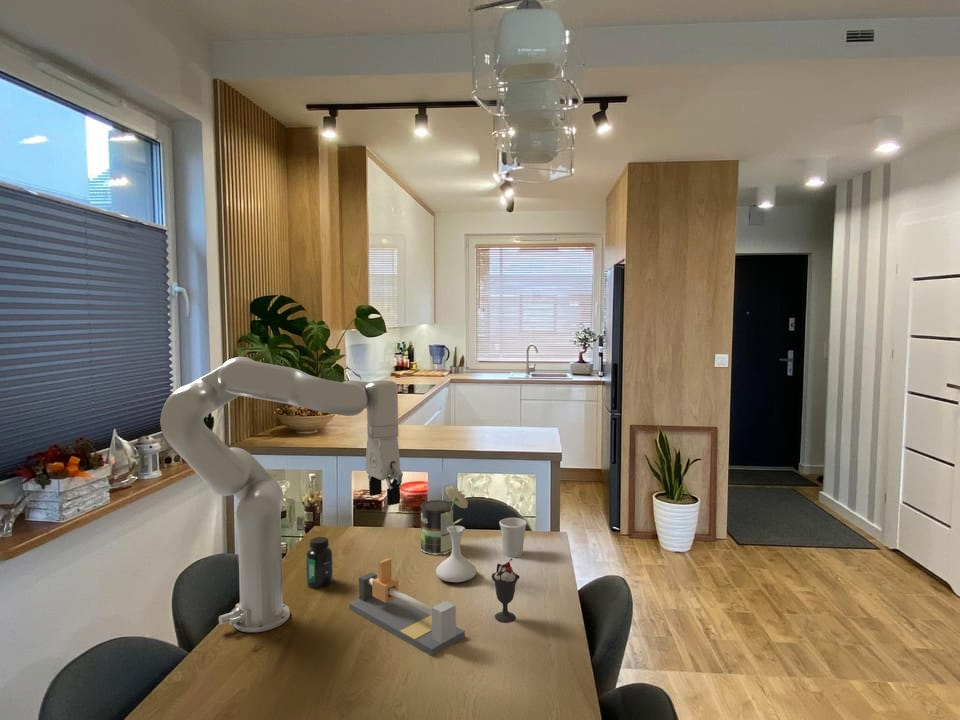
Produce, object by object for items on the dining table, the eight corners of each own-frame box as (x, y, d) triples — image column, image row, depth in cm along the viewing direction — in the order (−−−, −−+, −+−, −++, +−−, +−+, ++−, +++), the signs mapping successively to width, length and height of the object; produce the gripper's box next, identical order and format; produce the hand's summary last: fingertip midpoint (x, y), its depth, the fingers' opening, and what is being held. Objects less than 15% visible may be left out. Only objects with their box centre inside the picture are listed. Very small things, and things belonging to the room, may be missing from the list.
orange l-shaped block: (372, 596, 141) (372, 560, 140) (385, 590, 144) (385, 555, 143) (385, 602, 137) (384, 565, 137) (398, 596, 140) (398, 560, 140)
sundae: (517, 625, 134) (517, 563, 134) (489, 622, 136) (489, 560, 135) (521, 612, 141) (521, 552, 140) (494, 609, 142) (494, 549, 141)
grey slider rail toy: (349, 609, 142) (348, 575, 142) (381, 595, 150) (381, 563, 149) (431, 656, 122) (431, 617, 122) (464, 637, 129) (464, 600, 129)
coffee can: (424, 557, 174) (424, 511, 173) (417, 544, 184) (417, 501, 183) (457, 553, 177) (457, 508, 176) (449, 541, 187) (448, 498, 186)
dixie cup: (527, 549, 180) (527, 518, 180) (525, 560, 172) (525, 527, 171) (500, 548, 181) (501, 516, 181) (497, 558, 173) (497, 526, 173)
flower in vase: (482, 582, 157) (482, 492, 156) (443, 589, 153) (442, 496, 151) (466, 564, 169) (466, 480, 168) (428, 570, 165) (428, 484, 164)
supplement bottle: (312, 591, 152) (311, 546, 151) (303, 581, 157) (302, 538, 157) (336, 584, 156) (336, 540, 155) (327, 575, 161) (326, 533, 161)
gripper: (354, 427, 147) (355, 494, 148) (385, 438, 133) (386, 511, 134) (380, 424, 151) (382, 488, 152) (413, 434, 137) (415, 505, 138)
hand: (384, 499), depth 143 cm, fingers open, 9 cm apart
